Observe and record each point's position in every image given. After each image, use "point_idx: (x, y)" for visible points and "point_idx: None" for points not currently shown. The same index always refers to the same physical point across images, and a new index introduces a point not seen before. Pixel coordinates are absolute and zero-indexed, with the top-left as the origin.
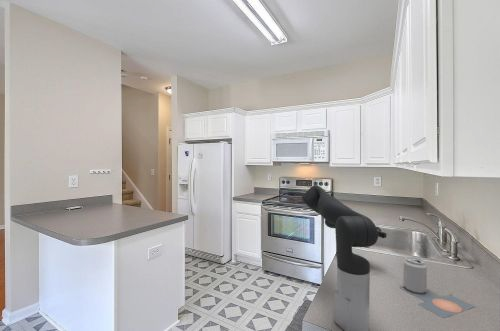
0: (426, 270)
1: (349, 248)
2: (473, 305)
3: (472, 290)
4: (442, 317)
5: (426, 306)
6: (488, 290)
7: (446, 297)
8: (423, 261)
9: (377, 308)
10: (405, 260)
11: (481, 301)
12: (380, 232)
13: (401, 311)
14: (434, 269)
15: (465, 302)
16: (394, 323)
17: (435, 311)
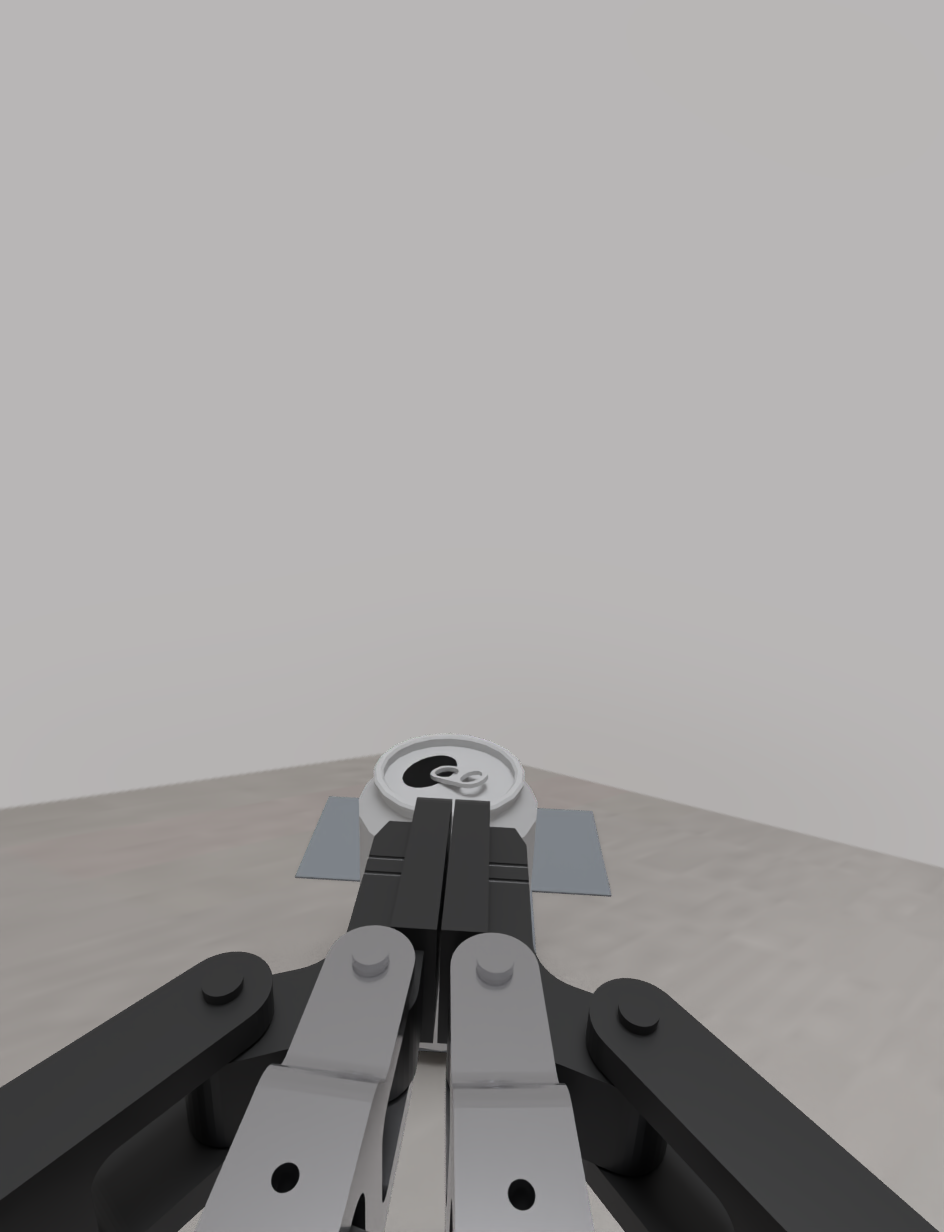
0: (427, 781)
1: None
2: (329, 801)
3: (94, 850)
4: (592, 813)
5: (582, 868)
6: (19, 822)
7: (357, 869)
8: (412, 743)
9: (927, 959)
10: (500, 824)
11: (236, 802)
12: (491, 852)
13: (773, 896)
14: None
15: (327, 820)
16: (880, 864)
17: (577, 839)
